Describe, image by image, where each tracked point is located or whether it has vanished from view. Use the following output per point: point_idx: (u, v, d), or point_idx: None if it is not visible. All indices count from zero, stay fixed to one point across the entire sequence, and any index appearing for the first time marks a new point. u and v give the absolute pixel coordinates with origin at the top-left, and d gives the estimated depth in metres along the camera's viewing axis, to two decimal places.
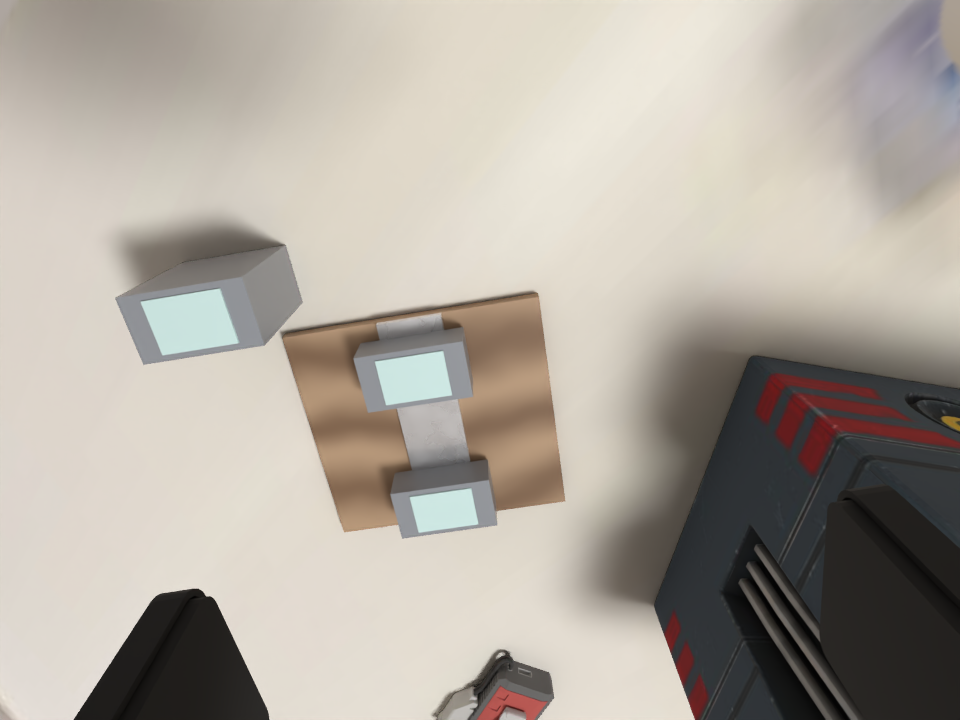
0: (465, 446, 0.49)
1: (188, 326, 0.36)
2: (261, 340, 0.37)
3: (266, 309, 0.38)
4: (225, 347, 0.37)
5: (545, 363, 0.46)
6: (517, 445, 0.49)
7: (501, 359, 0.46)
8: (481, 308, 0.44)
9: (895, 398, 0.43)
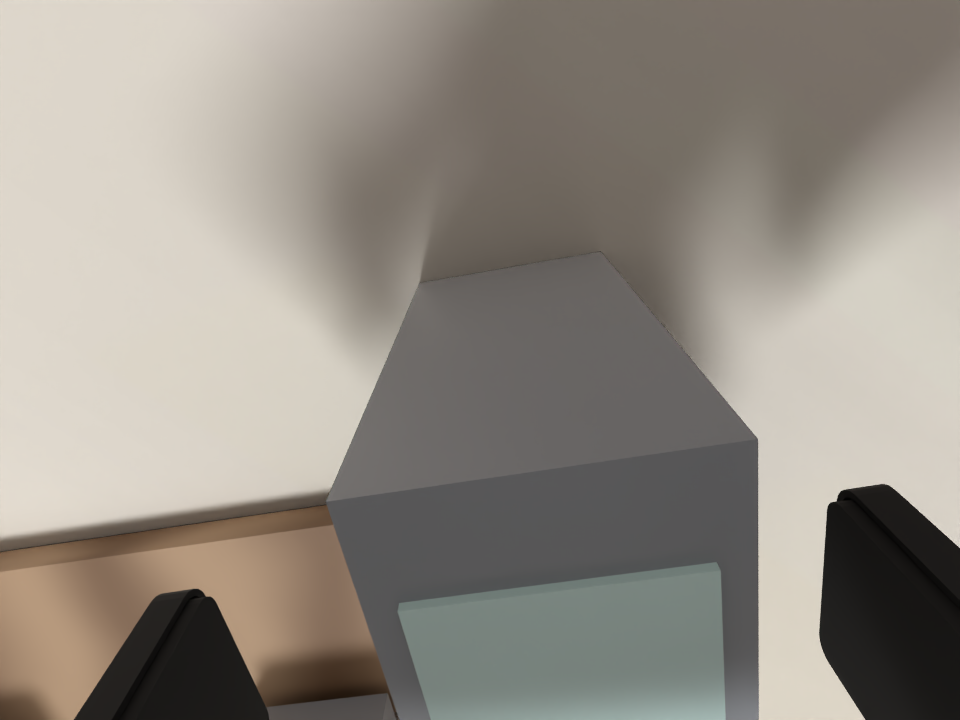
0: None
1: (557, 719, 0.07)
2: None
3: None
4: None
5: None
6: None
7: None
8: None
9: None
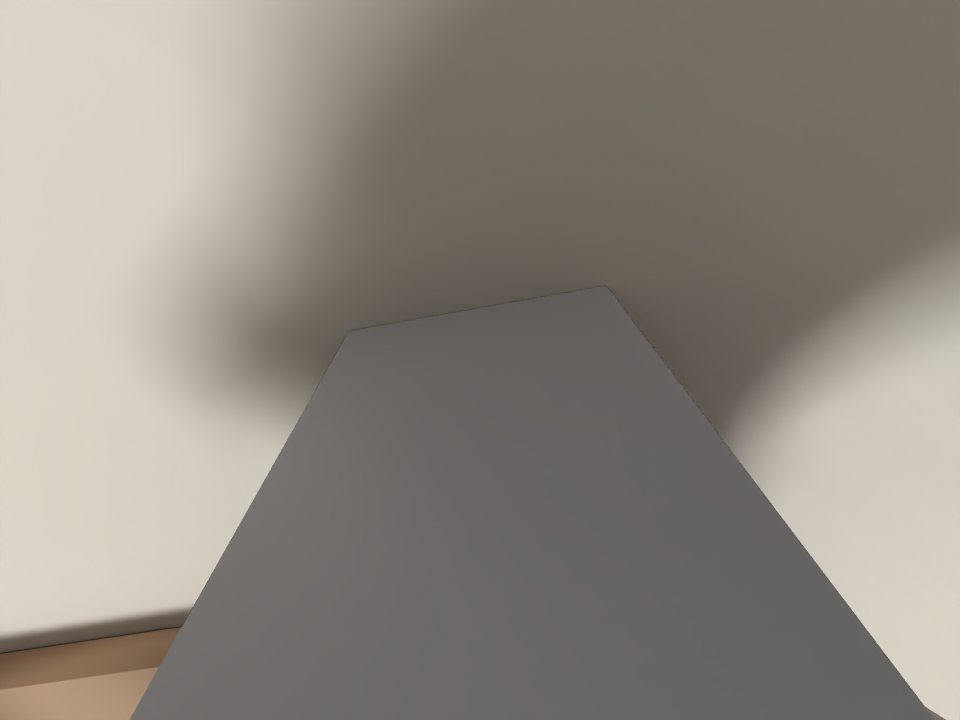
0: None
1: None
2: None
3: None
4: None
5: None
6: None
7: None
8: None
9: None
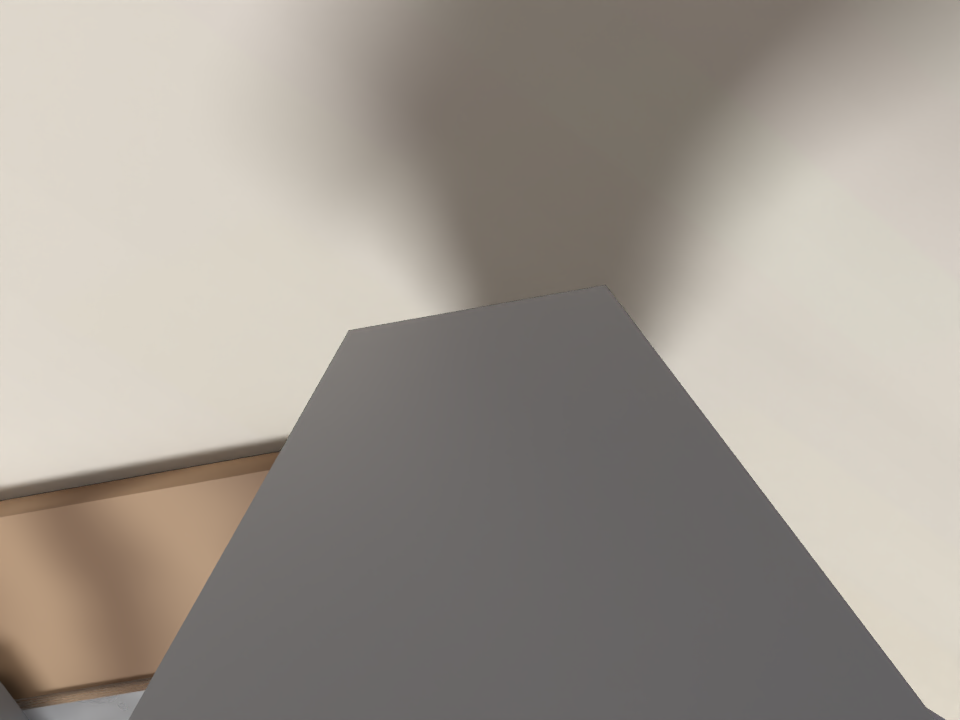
0: None
1: None
2: None
3: None
4: None
5: None
6: None
7: None
8: None
9: None
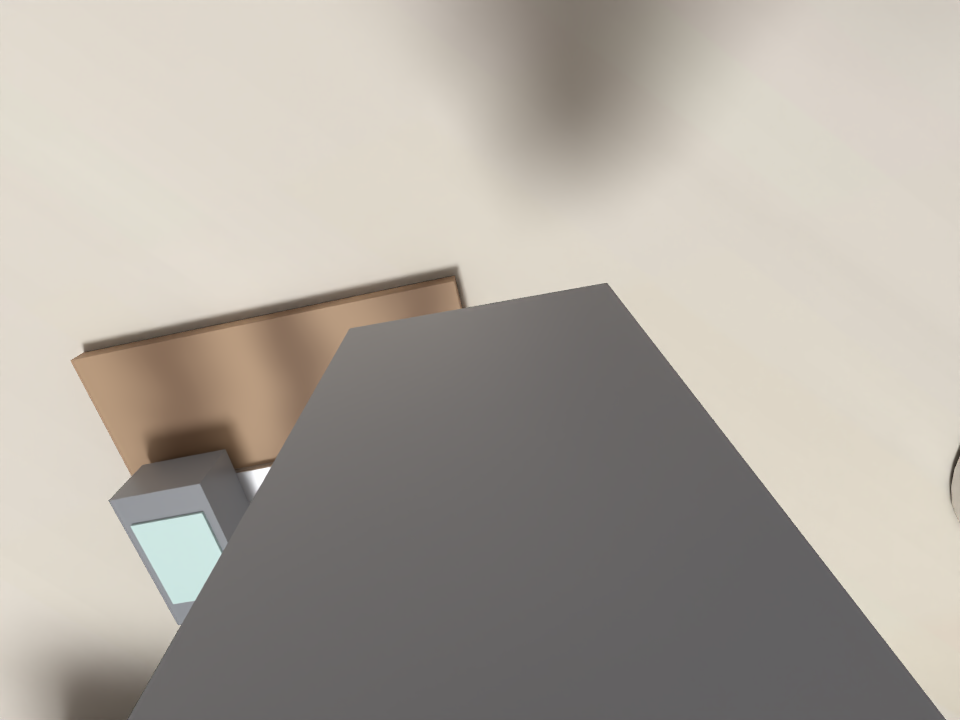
0: None
1: None
2: None
3: None
4: None
5: None
6: None
7: None
8: None
9: None
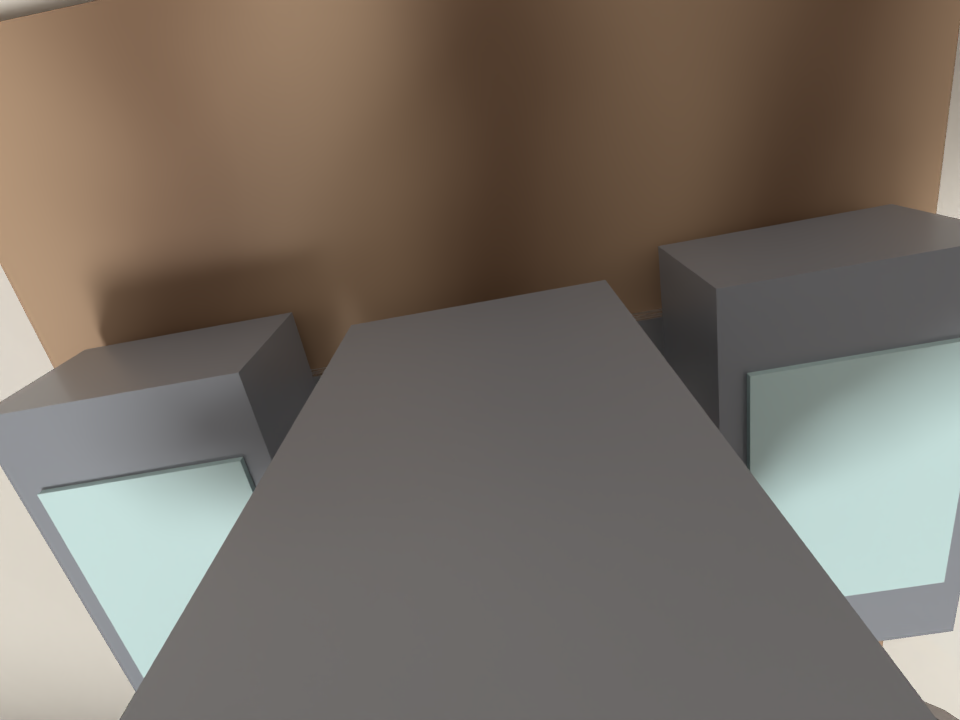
0: None
1: None
2: None
3: None
4: None
5: None
6: None
7: None
8: None
9: None
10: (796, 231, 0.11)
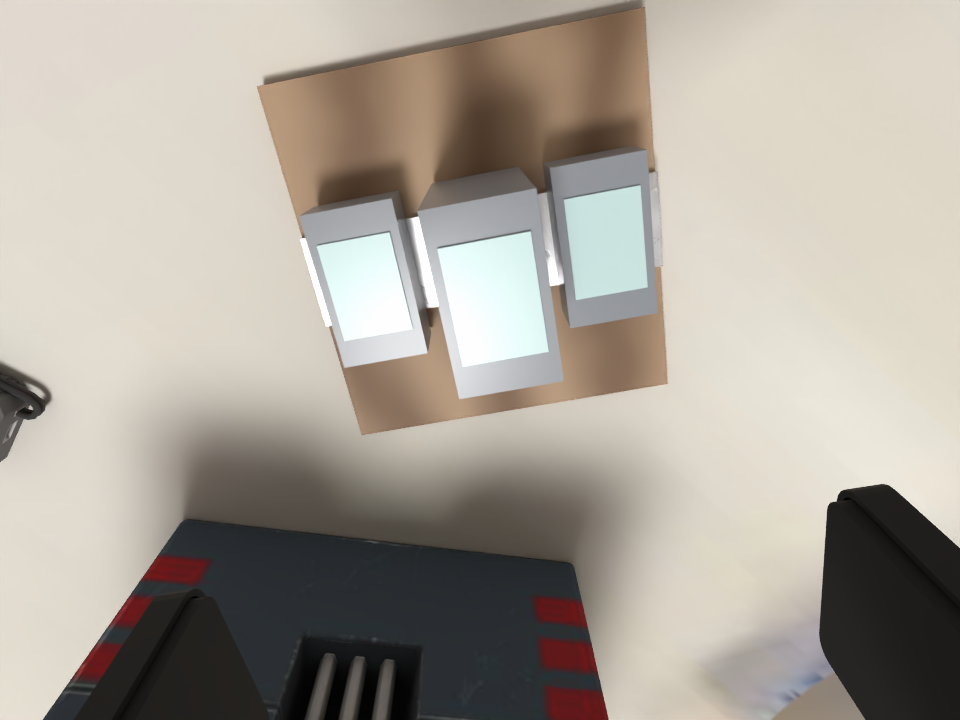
0: None
1: (487, 296, 0.23)
2: (467, 396, 0.25)
3: None
4: (453, 345, 0.24)
5: (576, 396, 0.36)
6: (451, 369, 0.35)
7: (585, 343, 0.34)
8: (659, 316, 0.34)
9: None
10: (590, 155, 0.29)
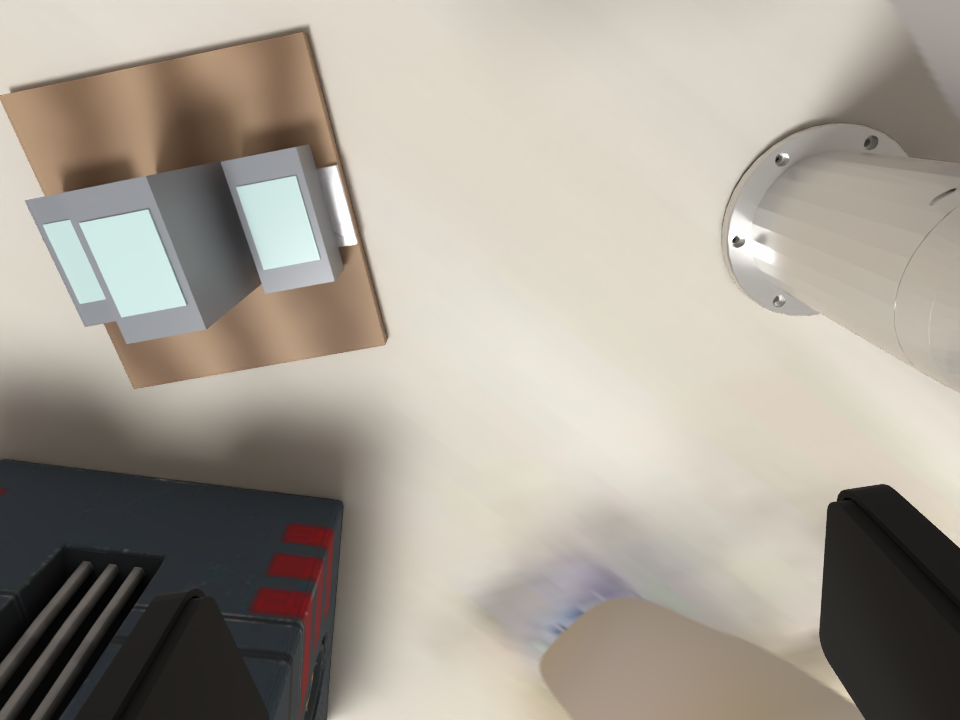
0: None
1: (128, 260, 0.30)
2: (132, 341, 0.31)
3: None
4: (111, 300, 0.31)
5: (309, 356, 0.42)
6: (200, 332, 0.41)
7: (308, 310, 0.41)
8: (367, 286, 0.40)
9: (324, 629, 0.47)
10: (271, 151, 0.35)
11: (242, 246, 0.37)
